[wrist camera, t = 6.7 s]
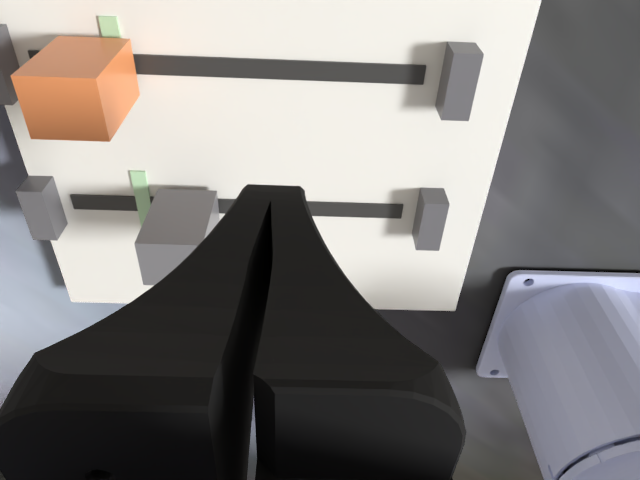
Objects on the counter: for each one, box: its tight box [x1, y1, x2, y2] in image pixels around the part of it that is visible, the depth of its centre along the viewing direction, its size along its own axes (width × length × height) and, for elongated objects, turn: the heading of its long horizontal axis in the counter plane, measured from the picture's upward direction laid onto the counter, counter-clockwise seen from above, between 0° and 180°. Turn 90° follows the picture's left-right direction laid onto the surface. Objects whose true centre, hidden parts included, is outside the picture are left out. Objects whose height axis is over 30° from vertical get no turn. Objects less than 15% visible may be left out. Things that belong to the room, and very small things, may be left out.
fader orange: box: [11, 36, 140, 142], centre depth 17 cm, size 2×2×4 cm
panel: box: [0, 0, 541, 311], centre depth 21 cm, size 19×18×2 cm
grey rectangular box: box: [134, 189, 220, 285], centre depth 21 cm, size 2×2×4 cm
